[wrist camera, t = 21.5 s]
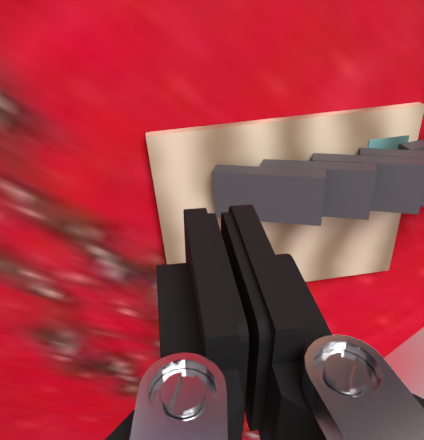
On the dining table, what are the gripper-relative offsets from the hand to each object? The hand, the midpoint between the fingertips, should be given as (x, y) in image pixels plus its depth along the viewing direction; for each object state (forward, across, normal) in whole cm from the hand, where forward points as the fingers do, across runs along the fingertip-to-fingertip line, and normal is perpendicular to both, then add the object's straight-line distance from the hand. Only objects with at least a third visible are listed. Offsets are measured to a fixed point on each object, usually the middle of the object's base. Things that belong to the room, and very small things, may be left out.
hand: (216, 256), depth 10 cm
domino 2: (+26, -9, +12) cm, 30 cm away
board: (+28, -12, +16) cm, 34 cm away
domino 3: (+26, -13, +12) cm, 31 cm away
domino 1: (+26, -4, +12) cm, 29 cm away
